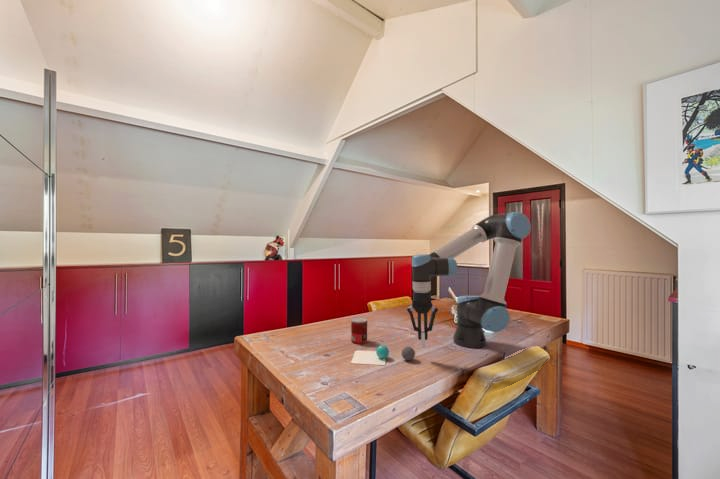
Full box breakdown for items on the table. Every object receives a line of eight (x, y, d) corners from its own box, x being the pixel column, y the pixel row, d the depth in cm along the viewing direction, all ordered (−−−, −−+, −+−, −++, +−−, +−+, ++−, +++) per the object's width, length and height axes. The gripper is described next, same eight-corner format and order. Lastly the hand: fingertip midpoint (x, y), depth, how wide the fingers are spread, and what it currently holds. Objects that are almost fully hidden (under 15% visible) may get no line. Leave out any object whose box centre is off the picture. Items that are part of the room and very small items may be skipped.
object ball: (386, 341, 129) (374, 345, 130) (385, 346, 123) (373, 350, 124) (391, 353, 129) (379, 357, 129) (390, 358, 123) (378, 362, 124)
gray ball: (403, 343, 127) (399, 355, 128) (404, 348, 122) (400, 360, 122) (415, 346, 127) (412, 358, 127) (417, 352, 121) (413, 364, 122)
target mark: (386, 352, 133) (386, 351, 133) (385, 365, 119) (385, 365, 119) (355, 350, 135) (355, 350, 135) (350, 363, 121) (350, 363, 121)
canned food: (365, 345, 142) (365, 322, 142) (349, 343, 144) (349, 321, 144) (368, 339, 150) (368, 318, 150) (353, 338, 151) (353, 317, 151)
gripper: (406, 292, 121) (407, 350, 122) (438, 292, 120) (440, 351, 120) (405, 289, 129) (407, 343, 129) (436, 289, 127) (437, 344, 127)
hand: (423, 347), depth 124 cm, fingers closed
